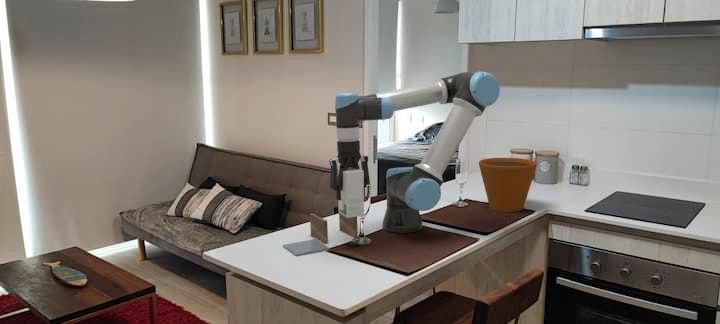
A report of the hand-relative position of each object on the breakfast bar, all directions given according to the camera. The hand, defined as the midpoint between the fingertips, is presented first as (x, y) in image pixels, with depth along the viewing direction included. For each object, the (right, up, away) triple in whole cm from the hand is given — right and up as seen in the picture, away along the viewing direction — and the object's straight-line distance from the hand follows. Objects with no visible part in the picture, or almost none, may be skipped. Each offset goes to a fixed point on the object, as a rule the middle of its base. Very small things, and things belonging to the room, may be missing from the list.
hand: (351, 207), depth 181 cm
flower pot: (+66, -4, +49) cm, 82 cm away
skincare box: (0, -2, 0) cm, 3 cm away
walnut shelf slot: (-6, -12, +13) cm, 19 cm away
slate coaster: (-15, -14, 0) cm, 21 cm away
